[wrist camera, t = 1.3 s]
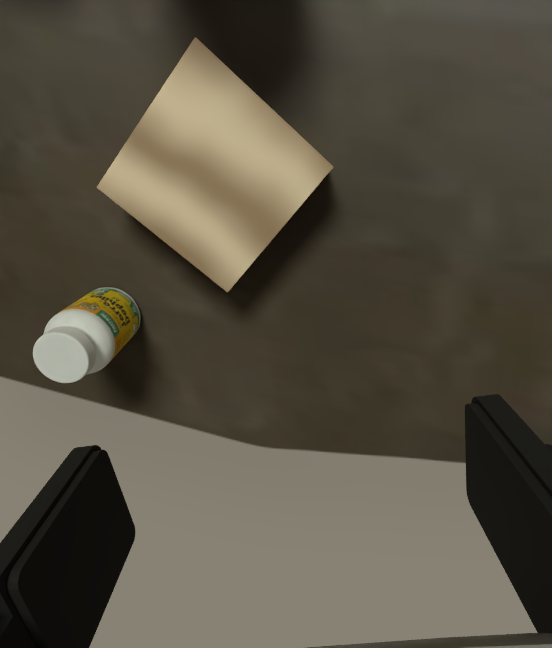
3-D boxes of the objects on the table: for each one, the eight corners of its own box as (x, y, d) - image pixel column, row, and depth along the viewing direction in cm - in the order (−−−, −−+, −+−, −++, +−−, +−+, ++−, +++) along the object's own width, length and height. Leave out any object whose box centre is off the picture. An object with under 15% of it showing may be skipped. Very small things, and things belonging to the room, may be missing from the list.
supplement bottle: (74, 318, 39) (9, 364, 30) (101, 273, 37) (41, 307, 28) (124, 351, 40) (76, 404, 31) (153, 308, 38) (111, 352, 29)
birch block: (209, 55, 32) (195, 36, 27) (327, 166, 34) (333, 166, 29) (122, 184, 35) (96, 187, 30) (235, 276, 38) (227, 292, 33)
